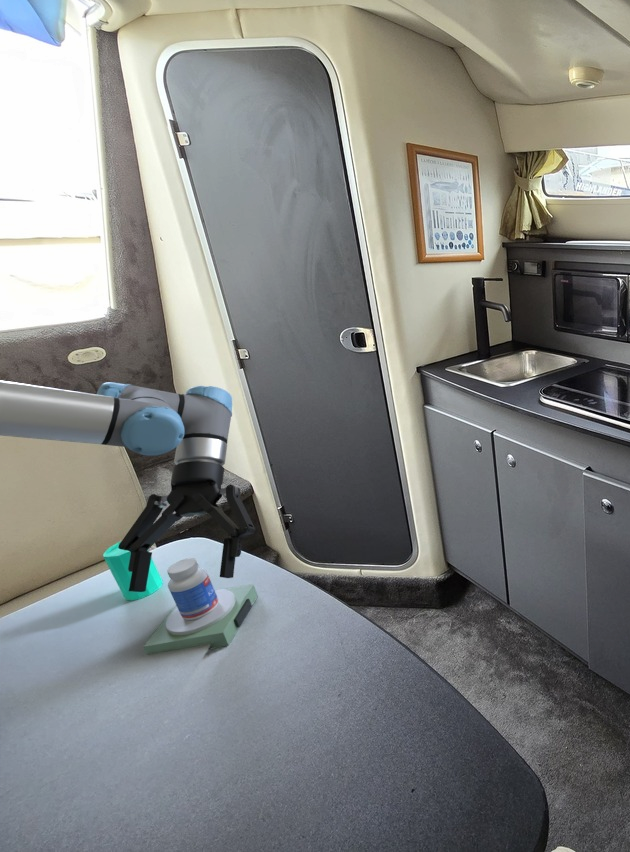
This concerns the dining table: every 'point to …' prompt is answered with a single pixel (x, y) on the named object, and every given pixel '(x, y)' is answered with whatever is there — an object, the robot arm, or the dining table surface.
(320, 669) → the dining table surface
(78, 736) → the dining table surface
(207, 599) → the pill bottle
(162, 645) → the kitchen scale
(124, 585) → the candle
